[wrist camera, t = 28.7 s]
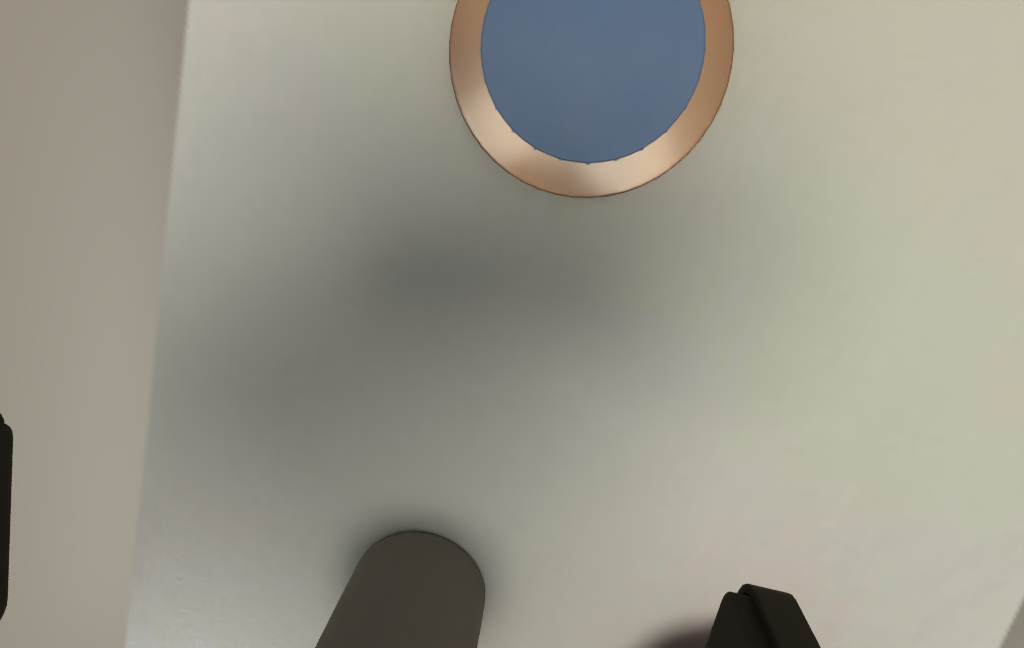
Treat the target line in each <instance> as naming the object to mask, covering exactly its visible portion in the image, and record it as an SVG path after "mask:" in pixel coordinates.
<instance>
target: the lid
mask: <svg viewBox="0 0 1024 648" xmlns="http://www.w3.org/2000/svg"><path fill="white" fill-rule="evenodd" d="M705 49H706V31H705V22H704V15H703V11H702V7H701V3H700V0H490V2H489V4H488V7H487V11H486V14H485V17H484V20H483V28H482V34H481V49H480V53H481V62H482V69H483V74H484V83H486V85H487V88H488V92H489V94H490V96H491V99H492V101H493V103H494V105H495V107H494V108H495V110H497V111H498V112H499V113H500V115H501V116H502V118H503V120H504V121H505V122H506V123H507V124H508V125H509V127H510V128H511V129H512V131H511V132H512V133H516V134H517V135H518V136H519V137H520V138H521V139H523V140H524V141H525V142H527V143H528V144H530V145H531V146H532V147H534V148H533V149H534V150H535V151H536V150H539V151H541V152H543V153H545V154H547V155H550V156H553V157H555V158H558V159H559V161H562V160H566V161H571V162H579V163H586V165H590V163H599V162H606V161H611V160H613V161H614V162H616V161H618V160H617V159H619V158H622V157H625V156H628V155H631V154H633V153H635V152H637V151H639V150H640V151H643V150H644V148H645V147H646V146H648V145H649V144H651V143H652V142H654V141H655V140H657V139H658V138H659V137H660V136H661V135H663V134H666V133H667V132H668V129H669V128H670V127H671V126H672V125H673V124H674V123H675V121H676V120H677V119H678V118H679V116H680V115H681V114H682V112H683V111H684V110H686V108H687V105H688V103H689V101H690V99H691V97H692V95H693V94H694V91H695V89H696V86H697V84H698V82H699V80H700V75H701V71H702V67H703V63H704V55H705Z"/></svg>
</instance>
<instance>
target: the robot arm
mask: <svg viewBox="0 0 1024 648" xmlns="http://www.w3.org/2000/svg"><path fill="white" fill-rule="evenodd" d="M12 454H13V434H12V430H11V428H10V427H9V426H8V425H6V424H4V419H3V417H2V415H1V414H0V620H1V618H2V616H3V614H4V611H5V609H6V606H7V599H8V573H9V571H8V570H9V543H10V513H11V512H10V511H11V482H12ZM705 648H821V647H820V646H819V644H818V642H817V640H816V638H815V636H814V634H813V632H812V630H811V628H810V626H809V624H808V622H807V620H806V619H805V617H804V615H803V613H802V611H801V609H800V607H799V605H798V603H797V601H796V599H795V598H794V597H793V596H792V595H791V594H789V593H785V592H781V591H777V590H772V589H768V588H764V587H759V586H755V585H751V584H745V585H743V586H742V587H741V588H740V589H739V591H738V593H734V592H727V593H726V594H725V595H724V597H723V599H722V602H721V604H720V607H719V610H718V613H717V616H716V619H715V621H714V624H713V627H712V630H711V633H710V636H709V639H708V642H707V644H706V647H705Z"/></svg>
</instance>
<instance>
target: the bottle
mask: <svg viewBox="0 0 1024 648" xmlns="http://www.w3.org/2000/svg"><path fill="white" fill-rule="evenodd" d="M484 601H485V589H484V584H483V580H482V577H481V574H480V572H479V570H478V568H477V566H476V565H475V563H474V562H473V560H472V559H471V558H470V557H469V556H468V555H467V554H466V553H465V552H464V551H463V550H462V549H461V548H460V547H458V546H457V545H455V544H453V543H452V542H450V541H449V540H447V539H444V538H442V537H440V536H436V535H433V534H429V533H421V532H405V533H400V534H396V535H392V536H389V537H387V538H385V539H383V540H381V541H379V542H378V543H376V544H375V545H374V546H372V547H371V548H370V549H369V550H368V551H367V552H366V553H365V554H364V556H363V557H362V559H361V560H360V562H359V563H358V565H357V567H356V569H355V571H354V573H353V575H352V576H351V578H350V580H349V582H348V584H347V586H346V588H345V590H344V592H343V594H342V595H341V597H340V599H339V601H338V603H337V605H336V607H335V609H334V611H333V613H332V615H331V617H330V619H329V621H328V623H327V625H326V627H325V629H324V631H323V633H322V635H321V637H320V639H319V641H318V643H317V645H316V647H315V648H477V645H478V639H479V633H480V628H481V622H482V616H483V609H484Z"/></svg>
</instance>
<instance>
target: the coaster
mask: <svg viewBox="0 0 1024 648" xmlns="http://www.w3.org/2000/svg"><path fill="white" fill-rule="evenodd" d="M489 2H490V0H458V1H457V4H456V8H455V12H454V16H453V20H452V25H451V33H450V41H449V64H450V72H451V81H452V85H453V89H454V93H455V97H456V100H457V103H458V106H459V108H460V111H461V114H462V116H463V118H464V120H465V122H466V124H467V126H468V128H469V129H470V131H471V133H472V135H473V136H474V137H475V139H476V140H477V142H478V143H479V144H480V146H481V147H482V149H483V150H484V151H485V152H486V153H487V154H488V155H489V156H490V157H491V158H492V159H493V160H494V161H495V162H496V163H497V164H498V165H499V166H501V167H502V168H503V169H504V170H505V171H507V172H508V173H509V174H511V175H513V176H514V177H516V178H517V179H519V180H520V181H522V182H524V183H526V184H528V185H530V186H533V187H535V188H537V189H539V190H543V191H546V192H549V193H552V194H556V195H562V196H568V197H577V198H595V197H605V196H611V195H615V194H620V193H624V192H627V191H630V190H633V189H635V188H638V187H641V186H643V185H645V184H647V183H649V182H651V181H653V180H655V179H656V178H658V177H660V176H661V175H663V174H664V173H666V172H667V171H669V170H670V169H671V168H673V167H674V166H675V165H676V164H678V163H679V162H680V161H681V160H682V159H683V158H684V157H685V156H686V155H688V154H689V152H690V151H691V150H692V149H693V148H694V147H695V145H696V144H697V143H698V142H699V141H700V140H701V138H702V137H703V135H704V134H705V132H706V131H707V129H708V128H709V126H710V125H711V123H712V121H713V120H714V118H715V116H716V114H717V112H718V110H719V108H720V106H721V103H722V100H723V98H724V95H725V92H726V89H727V86H728V82H729V78H730V73H731V69H732V61H733V51H734V32H733V22H732V15H731V8H730V4H729V1H728V0H700V3H701V7H702V11H703V15H704V22H705V31H706V49H705V55H704V63H703V67H702V71H701V75H700V80H699V82H698V84H697V86H696V89H695V91H694V94H693V95H692V97H691V99H690V101H689V103H688V105H687V108H686V110H684V111H683V112H682V114H681V115H680V116H679V118H678V119H677V120H676V121H675V123H674V124H673V125H672V126H671V127H670V128H669V129H668V132H667V133H666V134H663V135H661V136H660V137H659V138H658V139H657V140H655V141H654V142H652V143H651V144H649V145H648V146H646V147H645V148H644V150H643V151H640V150H639V151H637V152H635V153H633V154H631V155H628V156H625V157H622V158H619V159H617V160H618V161H616V162H614V161H613V160H611V161H606V162H599V163H590V165H586V163H579V162H571V161H566V160H562V161H559V159H558V158H555V157H553V156H550V155H547V154H545V153H543V152H541V151H539V150H536V151H535V150H534V149H533V148H534V147H532V146H531V145H530V144H528V143H527V142H525V141H524V140H523V139H521V138H520V137H519V136H518V135H517V134H516V133H512V132H511V131H512V129H511V128H510V127H509V125H508V124H507V123H506V122H505V121H504V120H503V118H502V116H501V115H500V113H499V112H498V111H497V110H495V108H494V107H495V105H494V103H493V101H492V99H491V96H490V94H489V92H488V88H487V85H486V83H484V74H483V69H482V62H481V53H480V49H481V34H482V28H483V20H484V17H485V14H486V11H487V7H488V4H489Z"/></svg>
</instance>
